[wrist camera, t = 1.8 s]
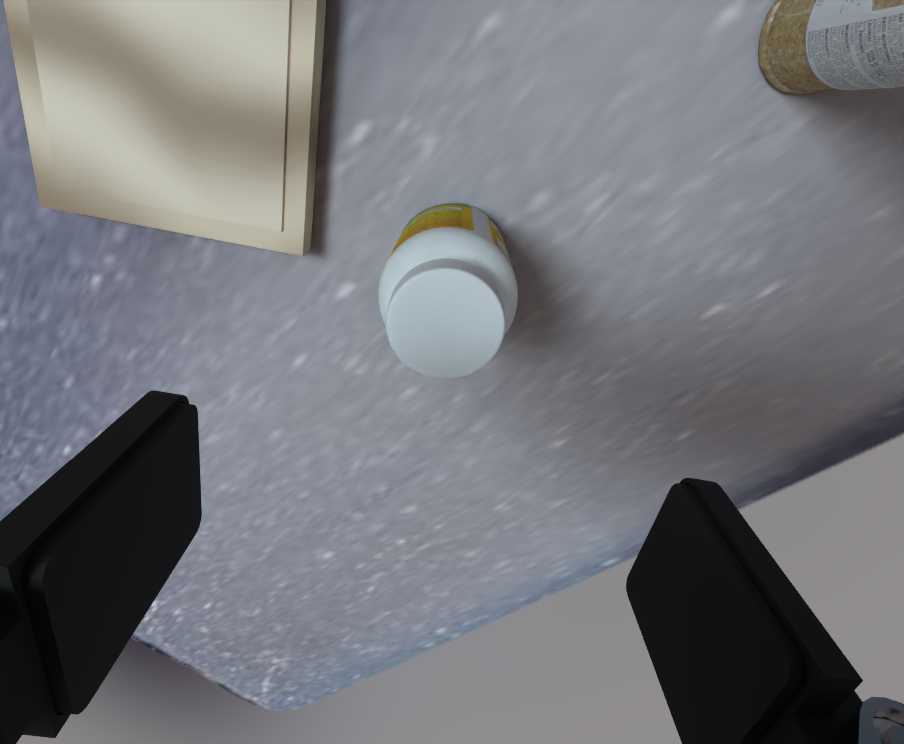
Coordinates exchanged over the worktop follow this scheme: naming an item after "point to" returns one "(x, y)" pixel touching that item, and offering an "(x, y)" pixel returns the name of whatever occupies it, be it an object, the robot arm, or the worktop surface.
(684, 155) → the worktop surface
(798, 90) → the sprinkles bottle
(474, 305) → the supplement bottle
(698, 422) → the worktop surface
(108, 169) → the cream square tray
